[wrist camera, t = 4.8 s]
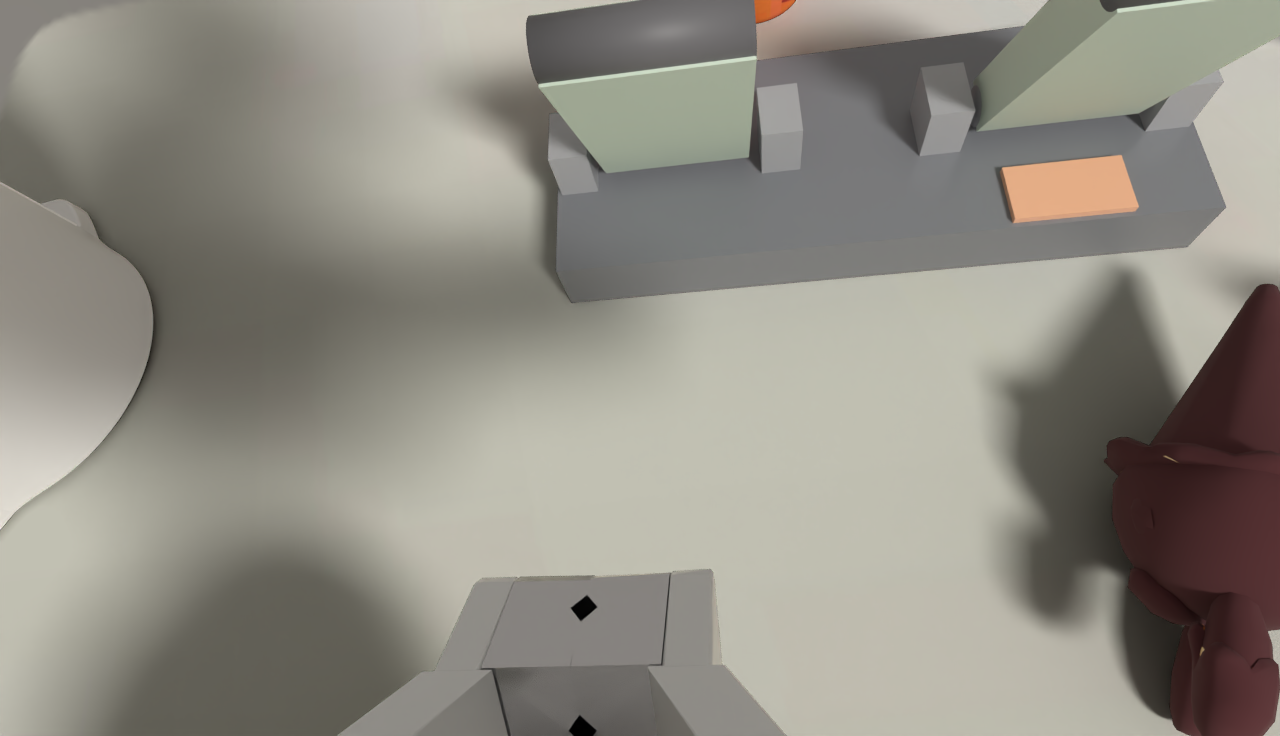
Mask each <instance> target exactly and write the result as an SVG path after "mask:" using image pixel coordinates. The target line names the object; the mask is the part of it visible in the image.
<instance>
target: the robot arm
mask: <svg viewBox="0 0 1280 736" xmlns="http://www.w3.org/2000/svg"><path fill="white" fill-rule="evenodd" d="M152 336H153V310H152V304H151V299H150V295H149V292H148V289H147V287H146V284H145V282H144V280H143V278H142V277H141V275H140V274H139V272H138V271H137V270H136V268H135V267H134V266H133V265H132V264H131V263H130V262H129V261H128V260H127V259H125V258H124V257H123V256H121V255H120V254H118V253H117V252H115V251H114V250H112V249H110V248H109V247H107V246H106V245H105V244H104V243H102V241H101V240H100V239H99V238H98V235H97V232H96V230H95V227H94V225H93V223H92V221H91V219H90V217H89V215H88V214H87V213H86V212H85V211H84V210H83V209H81V208H80V207H78V206H76V205H74V204H72V203H70V202H68V201H66V200H63V199H57V200H52V201H48V202H45V203H41V204H40V203H38V202H36V201H34V200H32V199H31V198H29V197H27V196H25V195H23V194H22V193H20V192H18V191H16V190H14V189H13V188H11V187H9V186H7V185H5V184H4V183H2V182H0V529H1V528H2V527H3V526H4V525H5V524H6V522H7V521H8V520H9V519H10V517H11V516H12V515H13V514H14V513H15V512H16V511H17V510H18V509H19V508H20V507H22V506H23V505H24V504H25V503H27V502H28V501H29V500H31V499H32V498H34V497H35V496H37V495H38V494H40V493H41V492H43V491H44V490H46V489H47V488H49V487H50V486H52V485H53V484H55V483H56V482H58V481H59V480H60V479H62V478H63V477H64V476H66V475H67V474H68V473H70V472H71V471H72V470H73V469H74V468H76V467H77V466H78V465H79V464H80V463H81V462H82V461H83V460H84V459H86V458H87V457H88V456H89V455H90V454H91V453H92V452H93V451H94V450H95V449H96V447H97V446H98V445H99V444H100V443H101V442H102V441H103V440H104V438H105V437H106V436H107V435H108V434H109V432H110V431H111V430H112V428H113V427H114V426H115V424H116V423H117V422H118V420H119V419H120V417H121V416H122V414H123V413H124V411H125V409H126V408H127V406H128V404H129V403H130V401H131V399H132V397H133V395H134V393H135V391H136V389H137V387H138V385H139V383H140V380H141V378H142V375H143V373H144V370H145V367H146V364H147V360H148V357H149V353H150V348H151V343H152ZM337 736H787V735H786V734H785V733H784V732H783V731H782V730H781V729H780V727H779V726H778V725H777V724H776V723H775V722H774V721H773V719H772V718H771V717H770V716H769V715H768V714H767V712H766V711H765V710H764V709H763V708H762V707H761V706H760V704H759V703H758V702H757V701H756V700H755V699H754V698H753V696H752V695H751V694H750V693H749V692H748V691H747V689H746V688H745V687H744V686H743V685H742V684H741V683H740V681H739V680H738V679H737V678H736V677H735V676H734V675H733V673H732V672H731V671H730V670H729V669H728V668H727V667H726V665H722V654H721V642H720V631H719V620H718V610H717V599H716V589H715V579H714V574H713V571H712V570H711V569H699V570H684V571H673V572H672V573H654V574H631V575H607V576H595V575H590V576H526V577H519V578H517V577H497V578H482V579H480V580H479V581H477V582H476V583H475V584H474V586H473V588H472V590H471V592H470V594H469V596H468V599H467V601H466V603H465V605H464V607H463V609H462V612H461V614H460V616H459V618H458V620H457V622H456V624H455V627H454V629H453V631H452V633H451V635H450V637H449V640H448V642H447V644H446V646H445V648H444V650H443V652H442V655H441V657H440V659H439V661H438V663H437V665H436V668H435V670H434V671H422V672H421V673H419V674H418V675H417V676H415V677H414V678H413V679H411V680H410V681H409V682H407V683H406V684H405V685H403V686H402V687H401V688H399V689H398V690H397V691H395V692H394V693H393V694H391V695H390V696H389V697H387V698H386V699H385V700H384V701H382V702H381V703H380V704H378V705H377V706H376V707H374V708H373V709H372V710H370V711H369V712H368V713H366V714H365V715H364V716H362V717H361V718H360V719H358V720H357V721H356V722H354V723H353V724H352V725H350V726H349V727H348V728H346V729H345V730H344V731H342V732H341V733H340V734H338V735H337Z"/></svg>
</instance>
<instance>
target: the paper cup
mask: <svg viewBox="0 0 1280 736" xmlns="http://www.w3.org/2000/svg"><path fill="white" fill-rule="evenodd" d="M795 1H796V0H754V3H755V18H756V24H757V23H762V22H765V21H768V20H771V19H773V18H775V17H777V16H779V15H781V14H782V13H784V12H785V11H786V10H788V9H789V8H790V7H791V6H792V5H793V4H794V2H795Z"/></svg>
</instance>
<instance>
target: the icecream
mask: <svg viewBox="0 0 1280 736" xmlns="http://www.w3.org/2000/svg"><path fill="white" fill-rule="evenodd" d="M1104 463H1105V464H1107V465H1108V466H1109V467H1110V468H1111V469H1112V470H1113V471H1114V472H1115V473H1116V474H1117V475H1118V478H1117V479H1116V481H1115V482H1114V483H1113V501H1112V520H1113V523H1114V525H1115V528H1116V531H1117V534H1118V537H1119V540H1120V543H1121V546H1122V548H1123V551H1124V553H1125V554H1126V556H1127V557H1128V559H1129V560H1130V562H1131V563H1132V564H1133V566H1134V568H1132V569H1131V570H1130V576H1129V583H1128V588H1129V589H1130V590H1131V591H1132V593H1133V594H1134V595H1135V596H1136V597H1137V598H1138V599H1139V600H1140V601H1141V602H1142V603H1143V604H1144V605H1145V606H1146V607H1147V608H1148V610H1149V611H1150V612H1151V613H1153V614H1155V615H1157V616H1159V617H1161V618H1163V619H1165V620H1167V621H1169V622H1171V623H1173V624H1179V625H1185V626H1184V629H1183V631H1182V635H1181V638H1180V642H1179V646H1178V650H1177V654H1176V658H1175V661H1174V665H1173V669H1172V677H1171V692H1170V712H1171V716H1172V721H1173V725H1174V726H1175V728H1176V729H1177V730H1178V731H1181V732H1183V733H1185V734H1187V735H1190V736H1263V735H1264V734H1265V733H1266V732H1267V730H1268V729H1269V728H1270V727H1271V726H1272V724H1273V723H1274V722H1275V717H1276V711H1277V705H1278V699H1279V692H1280V678H1279V667H1278V664H1277V663H1276V662H1275V661H1274V660H1273V648H1272V642H1271V639H1270V637H1269V634H1268V631H1271V630H1279V629H1280V292H1279V289H1278V287H1277V286H1275V285H1273V284H1262V285H1259V286H1258V287H1257V288H1256V289H1255V290H1254V292H1253V293H1252V294H1251V296H1250V297H1249V298H1248V300H1247V301H1246V302H1245V304H1244V306H1243V307H1242V309H1241V310H1240V312H1239V313H1238V315H1237V316H1236V318H1235V319H1234V321H1233V322H1232V324H1231V325H1230V327H1229V328H1228V330H1227V331H1226V333H1225V334H1224V336H1223V337H1222V339H1221V340H1220V342H1219V343H1218V345H1217V346H1216V348H1215V349H1214V351H1213V352H1212V354H1211V355H1210V357H1209V358H1208V360H1207V361H1206V363H1205V364H1204V366H1203V367H1202V369H1201V370H1200V371H1199V373H1198V374H1197V376H1196V377H1195V379H1194V380H1193V382H1192V383H1191V385H1190V386H1189V388H1188V389H1187V391H1186V392H1185V394H1184V395H1183V397H1182V398H1181V400H1180V401H1179V402H1178V404H1177V405H1176V407H1175V408H1174V410H1173V411H1172V413H1171V414H1170V416H1169V417H1168V419H1167V420H1166V422H1165V423H1164V425H1163V426H1162V428H1161V429H1160V431H1159V432H1158V433H1157V435H1156V436H1155V438H1154V439H1153V441H1152V442H1151V444H1150V445H1146V444H1144V443H1141V442H1139V441H1136V440H1134V439H1131V438H1129V437H1119V438H1116V439H1113V440H1111V441H1109V443H1108V445H1107V458H1106V459H1104Z"/></svg>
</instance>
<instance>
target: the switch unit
mask: <svg viewBox="0 0 1280 736" xmlns="http://www.w3.org/2000/svg"><path fill="white" fill-rule="evenodd" d="M1023 27H1024V26H1021V27H1013V28H1005V29H998V30H990V31H982V32H974V33H967V34H959V35H951V36H943V37H936V38H928V39H920V40H912V41H905V42H897V43H889V44H881V45H874V46H866V47H858V48H850V49H843V50H835V51H827V52H819V53H812V54H804V55H796V56H788V57H781V58H773V59H765V60H757V62H756V75H755V87H754V100H753V112H752V124H751V137H750V149H749V157H748V158H739V159H730V160H721V161H712V162H703V163H694V164H685V165H677V166H668V167H659V168H650V169H641V170H632V171H623V172H614V173H606V172H605V171H604V170H603V169H602V167H601V166H600V165H599V164H598V162H597V161H596V160H595V158H594V157H593V156H592V155H591V153H590V152H589V151H588V150H587V148H586V147H585V146H584V145H583V143H582V142H581V141H580V139H579V138H578V137H577V136H576V134H575V133H574V132H573V131H572V129H571V128H570V127H569V126H568V124H567V123H566V122H565V120H564V119H563V118H562V117H561V115H560V114H559V113H551V114H549V143H548V162H549V164H550V167H551V169H552V171H553V174H554V176H555V179H556V181H557V184H558V209H557V247H556V273H557V275H558V277H559V279H560V281H561V283H562V285H563V287H564V289H565V291H566V293H567V295H568V297H569V299H570V301H571V303H575V302H586V301H597V300H608V299H619V298H630V297H641V296H652V295H663V294H674V293H685V292H696V291H707V290H718V289H729V288H740V287H751V286H763V285H774V284H785V283H796V282H807V281H818V280H829V279H840V278H851V277H862V276H873V275H884V274H895V273H906V272H917V271H928V270H939V269H950V268H962V267H973V266H984V265H995V264H1006V263H1017V262H1028V261H1039V260H1050V259H1061V258H1072V257H1083V256H1094V255H1105V254H1116V253H1127V252H1138V251H1149V250H1161V249H1172V248H1183V247H1188V246H1189V245H1190V244H1191V243H1192V242H1193V241H1194V240H1195V239H1196V238H1197V236H1198V235H1199V234H1200V233H1201V232H1202V231H1203V230H1204V229H1205V228H1206V227H1207V226H1208V225H1209V224H1210V223H1211V222H1212V221H1213V220H1214V219H1215V218H1216V217H1217V216H1218V215H1219V214H1220V213H1221V212H1222V211H1223V210H1224V209H1225V208H1226V205H1225V202H1224V200H1223V197H1222V195H1221V192H1220V190H1219V187H1218V185H1217V182H1216V179H1215V177H1214V174H1213V172H1212V169H1211V167H1210V164H1209V162H1208V159H1207V157H1206V154H1205V151H1204V149H1203V146H1202V144H1201V141H1200V139H1199V136H1198V134H1197V131H1196V128H1195V126H1194V123H1193V121H1194V120H1195V118H1196V117H1197V116H1198V114H1199V113H1200V112H1201V111H1202V109H1203V108H1204V107H1205V105H1206V104H1207V103H1208V101H1209V100H1210V99H1211V98H1212V96H1213V95H1214V94H1215V92H1216V91H1217V90H1218V89H1219V87H1220V86H1221V85H1222V83H1223V82H1224V81H1223V79H1222V77H1221V74H1220V72H1219V69H1218V70H1217V71H1215V72H1213V73H1211V74H1209V75H1208V76H1206V77H1204V78H1202V79H1200V80H1198V81H1197V82H1195V83H1193V84H1191V85H1189V86H1188V87H1186V88H1184V89H1182V90H1180V91H1178V92H1177V93H1175V94H1173V95H1171V96H1169V97H1168V98H1166V99H1164V100H1162V101H1160V102H1158V103H1157V104H1155V105H1153V106H1151V107H1149V108H1148V109H1146V110H1144V111H1142V112H1140V113H1138V114H1129V115H1120V116H1112V117H1103V118H1094V119H1085V120H1076V121H1067V122H1058V123H1049V124H1040V125H1032V126H1023V127H1014V128H1005V129H996V130H987V131H978V132H977V131H976V127H973V126H972V125H971V121H972V119H973V116H974V113H975V111H976V110H975V106H974V102H973V98H972V94H971V89H972V87H973V81H974V80H975V79H976V77H977V76H978V75H979V74H980V73H981V72H982V71H983V70H984V69H985V68H986V67H987V66H988V65H989V64H990V63H991V61H992V60H993V59H994V58H995V57H996V56H997V55H998V54H999V53H1000V52H1001V51H1002V50H1003V49H1004V48H1005V47H1006V45H1007V44H1008V43H1009V42H1010V41H1011V40H1012V39H1013V38H1014V37H1015V36H1016V35H1017V34H1018V33H1019V32H1020V31H1021V29H1022V28H1023Z"/></svg>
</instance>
